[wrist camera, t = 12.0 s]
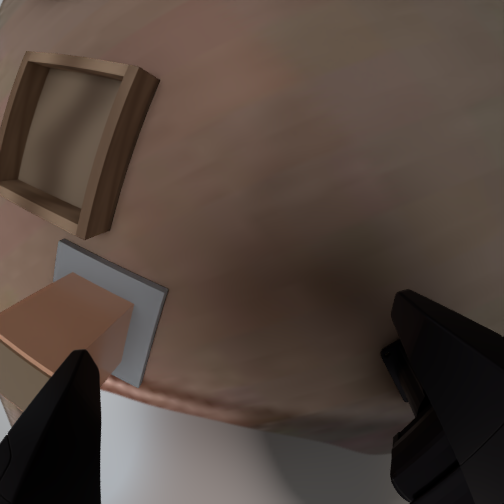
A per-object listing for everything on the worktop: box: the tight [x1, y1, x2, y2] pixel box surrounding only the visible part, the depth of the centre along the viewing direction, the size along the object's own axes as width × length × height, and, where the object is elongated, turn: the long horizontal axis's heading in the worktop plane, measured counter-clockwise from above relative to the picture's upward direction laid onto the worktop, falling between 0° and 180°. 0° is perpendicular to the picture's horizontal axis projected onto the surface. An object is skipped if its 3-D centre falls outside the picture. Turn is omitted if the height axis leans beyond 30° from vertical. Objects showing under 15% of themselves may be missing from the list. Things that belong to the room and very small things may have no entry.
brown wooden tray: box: [0, 51, 160, 240], centre depth 19 cm, size 12×12×4 cm
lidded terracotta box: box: [0, 272, 134, 412], centre depth 19 cm, size 6×6×10 cm
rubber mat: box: [53, 239, 168, 388], centre depth 24 cm, size 10×10×1 cm
